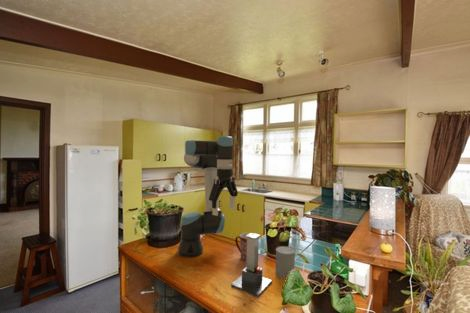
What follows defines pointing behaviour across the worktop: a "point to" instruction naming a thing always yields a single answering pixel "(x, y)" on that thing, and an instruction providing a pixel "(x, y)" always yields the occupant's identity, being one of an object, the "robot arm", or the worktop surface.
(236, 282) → the stand base
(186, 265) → the worktop surface
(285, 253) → the gray cylinder
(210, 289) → the worktop surface
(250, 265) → the column
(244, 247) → the mug
